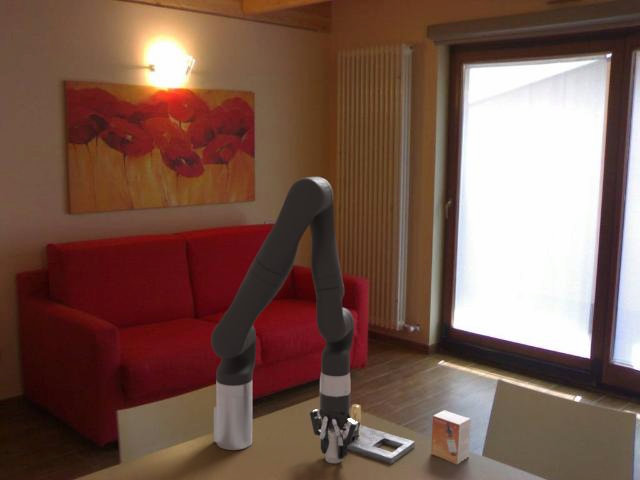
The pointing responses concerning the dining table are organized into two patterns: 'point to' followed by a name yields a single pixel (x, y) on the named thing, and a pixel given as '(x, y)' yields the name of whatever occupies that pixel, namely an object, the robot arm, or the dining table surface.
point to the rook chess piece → (332, 448)
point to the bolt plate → (377, 441)
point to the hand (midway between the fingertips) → (333, 455)
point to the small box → (450, 436)
